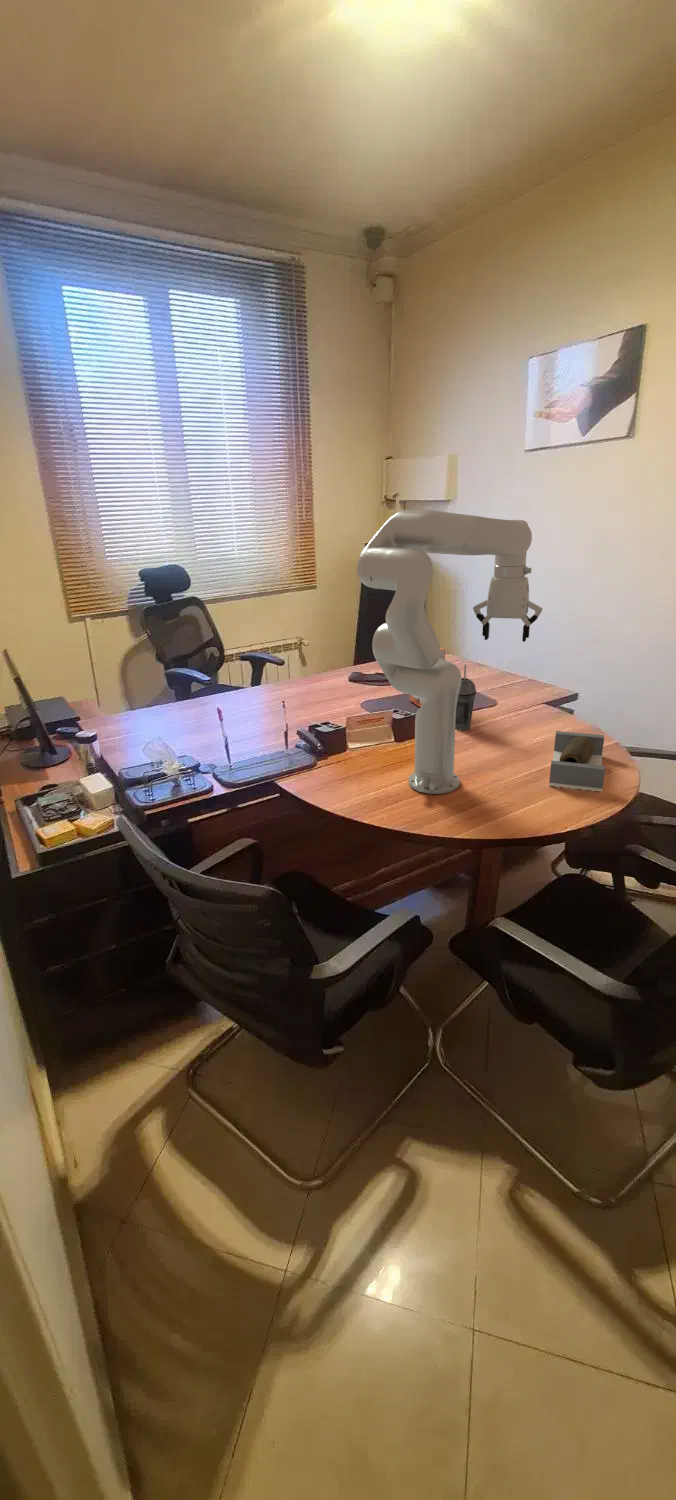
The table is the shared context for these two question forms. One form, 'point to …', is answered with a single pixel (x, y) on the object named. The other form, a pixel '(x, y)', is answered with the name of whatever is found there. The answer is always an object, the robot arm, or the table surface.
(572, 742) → the brown piece
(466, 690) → the beverage cup
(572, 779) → the holder
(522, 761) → the table surface
